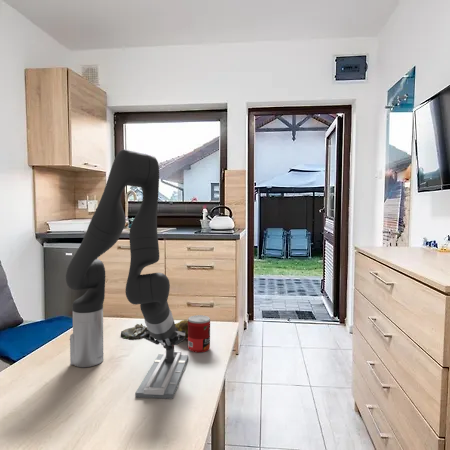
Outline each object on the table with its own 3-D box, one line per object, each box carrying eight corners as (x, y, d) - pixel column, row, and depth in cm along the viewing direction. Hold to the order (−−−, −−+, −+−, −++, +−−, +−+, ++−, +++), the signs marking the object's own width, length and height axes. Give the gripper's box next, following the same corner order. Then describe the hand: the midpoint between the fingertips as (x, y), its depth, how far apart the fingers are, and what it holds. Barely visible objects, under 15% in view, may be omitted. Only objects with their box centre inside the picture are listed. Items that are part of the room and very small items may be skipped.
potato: (191, 332, 143) (192, 312, 142) (197, 344, 130) (197, 322, 130) (171, 334, 140) (171, 314, 140) (175, 346, 128) (175, 324, 128)
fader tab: (164, 362, 111) (164, 330, 110) (166, 358, 114) (166, 327, 113) (173, 362, 111) (173, 330, 110) (175, 358, 114) (175, 327, 113)
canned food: (207, 353, 121) (207, 322, 121) (185, 352, 123) (185, 320, 122) (212, 345, 129) (212, 315, 128) (191, 343, 130) (191, 314, 130)
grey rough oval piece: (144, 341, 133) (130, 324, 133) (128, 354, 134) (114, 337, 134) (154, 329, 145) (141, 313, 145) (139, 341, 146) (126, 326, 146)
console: (134, 398, 92) (134, 389, 92) (159, 357, 118) (158, 350, 118) (172, 399, 92) (172, 390, 92) (188, 358, 118) (188, 351, 117)
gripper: (184, 309, 100) (191, 336, 113) (139, 308, 101) (150, 335, 114) (181, 334, 95) (188, 359, 108) (133, 332, 96) (145, 358, 108)
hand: (168, 347), depth 111 cm, fingers closed
